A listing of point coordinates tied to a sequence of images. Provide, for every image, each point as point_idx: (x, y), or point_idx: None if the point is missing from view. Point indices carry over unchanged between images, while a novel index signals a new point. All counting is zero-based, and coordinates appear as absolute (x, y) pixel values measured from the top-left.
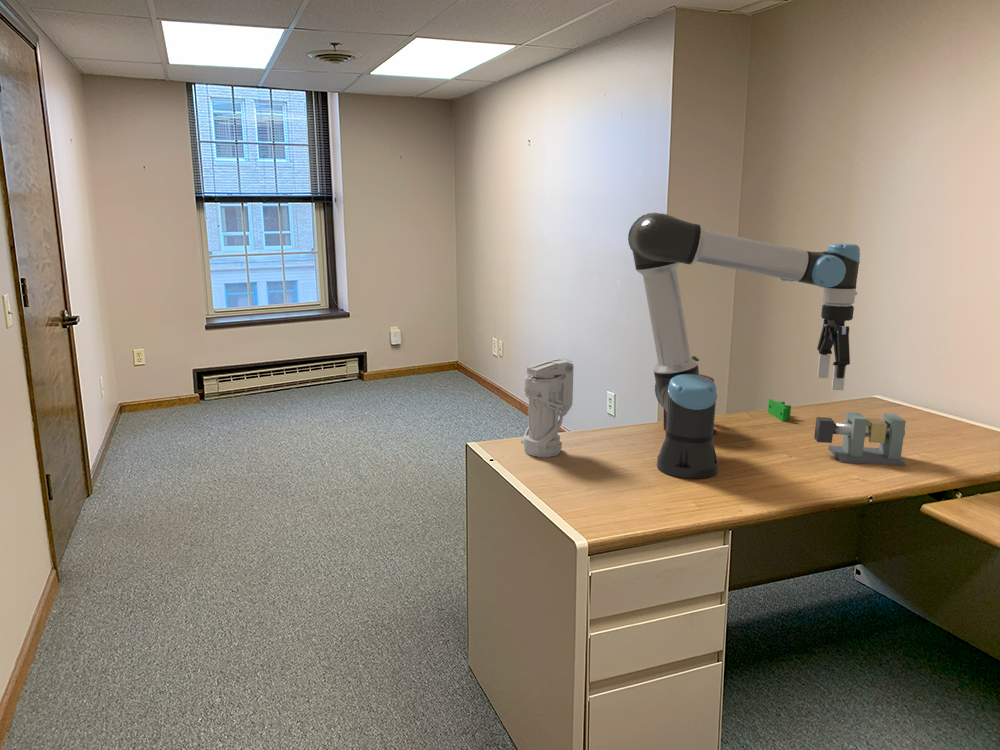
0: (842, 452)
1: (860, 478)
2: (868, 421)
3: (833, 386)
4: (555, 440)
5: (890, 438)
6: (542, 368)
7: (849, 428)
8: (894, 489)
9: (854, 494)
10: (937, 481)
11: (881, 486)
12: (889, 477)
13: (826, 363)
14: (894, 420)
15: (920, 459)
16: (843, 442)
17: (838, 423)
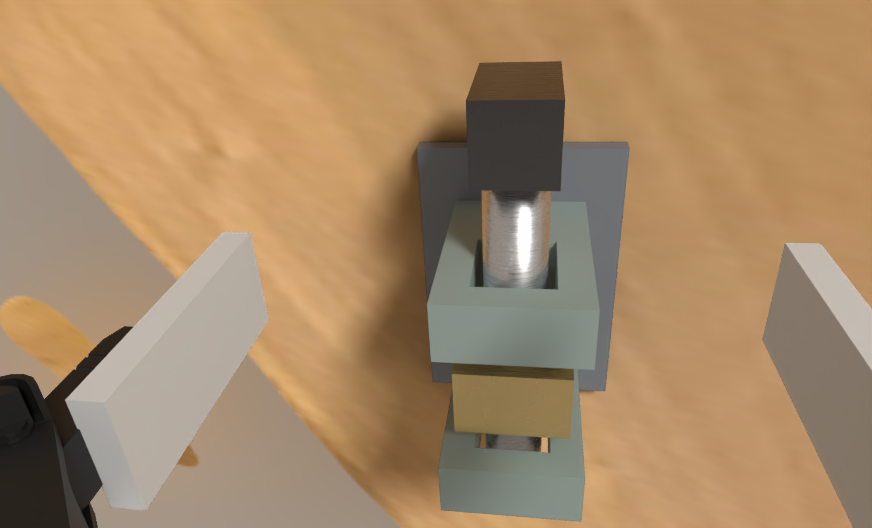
0: None
1: (222, 164)
2: (516, 373)
3: (208, 255)
4: None
5: None
6: None
7: (485, 259)
8: (147, 247)
9: (18, 84)
10: (290, 403)
11: (160, 214)
12: (276, 275)
13: (835, 434)
14: (438, 471)
15: None
16: (579, 216)
17: (513, 217)
